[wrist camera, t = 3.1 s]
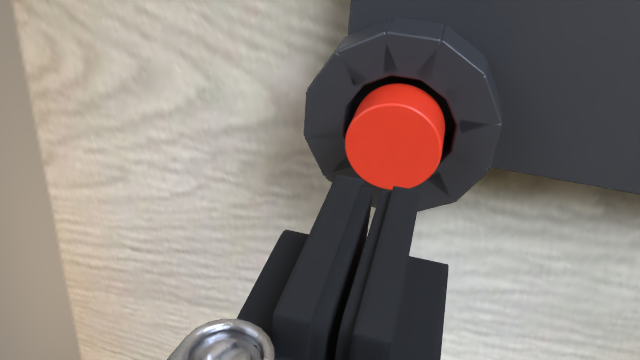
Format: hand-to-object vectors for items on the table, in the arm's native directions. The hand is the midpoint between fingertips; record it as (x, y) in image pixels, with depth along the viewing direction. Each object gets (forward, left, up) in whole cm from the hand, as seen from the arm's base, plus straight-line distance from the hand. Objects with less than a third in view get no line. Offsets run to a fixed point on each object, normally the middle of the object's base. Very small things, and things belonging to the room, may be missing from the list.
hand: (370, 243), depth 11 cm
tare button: (0, 0, -6) cm, 6 cm away
